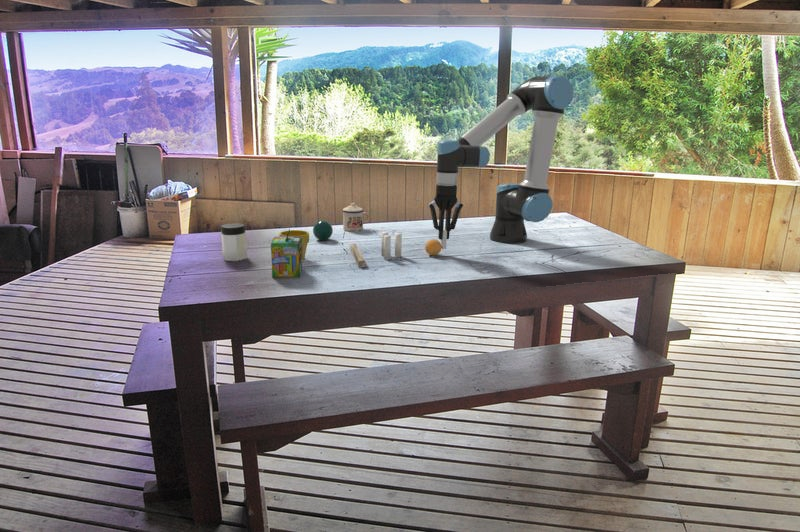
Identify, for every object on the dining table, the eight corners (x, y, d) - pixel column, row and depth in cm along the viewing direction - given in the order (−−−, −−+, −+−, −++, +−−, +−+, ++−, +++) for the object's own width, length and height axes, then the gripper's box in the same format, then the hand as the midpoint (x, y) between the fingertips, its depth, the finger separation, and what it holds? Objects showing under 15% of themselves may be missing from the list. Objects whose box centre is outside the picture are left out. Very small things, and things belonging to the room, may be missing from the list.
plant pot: (306, 254, 209) (305, 228, 206) (312, 262, 200) (312, 234, 197) (278, 257, 205) (276, 230, 203) (283, 264, 196) (282, 237, 193)
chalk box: (275, 269, 190) (273, 226, 186) (303, 269, 191) (301, 226, 187) (271, 278, 181) (268, 232, 177) (300, 277, 182) (298, 232, 178)
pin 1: (387, 254, 211) (387, 232, 209) (388, 256, 209) (388, 233, 206) (380, 254, 210) (381, 232, 208) (382, 256, 208) (382, 233, 206)
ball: (439, 252, 214) (438, 236, 212) (443, 256, 209) (443, 240, 207) (423, 253, 213) (423, 238, 211) (427, 258, 207) (427, 242, 206)
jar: (249, 260, 201) (247, 226, 198) (225, 262, 198) (223, 228, 194) (244, 254, 209) (242, 222, 205) (221, 256, 205) (218, 223, 202)
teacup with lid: (346, 232, 245) (345, 205, 242) (340, 228, 253) (340, 202, 250) (372, 230, 249) (372, 204, 246) (366, 226, 258) (365, 200, 254)
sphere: (331, 242, 227) (331, 223, 225) (311, 242, 228) (311, 222, 225) (334, 237, 235) (333, 218, 233) (314, 237, 235) (314, 218, 233)
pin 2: (389, 257, 206) (390, 235, 204) (391, 259, 204) (391, 236, 202) (383, 258, 206) (383, 235, 203) (384, 259, 204) (384, 236, 201)
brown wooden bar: (355, 249, 217) (355, 243, 216) (364, 267, 194) (364, 260, 193) (350, 250, 216) (350, 243, 215) (359, 267, 194) (359, 260, 193)
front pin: (400, 255, 209) (400, 233, 207) (401, 257, 207) (402, 234, 205) (394, 255, 209) (394, 233, 207) (395, 257, 207) (395, 234, 204)
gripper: (460, 182, 209) (456, 245, 215) (426, 182, 206) (423, 245, 213) (467, 185, 202) (463, 250, 208) (431, 185, 199) (428, 250, 206)
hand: (443, 247), depth 211 cm, fingers closed
